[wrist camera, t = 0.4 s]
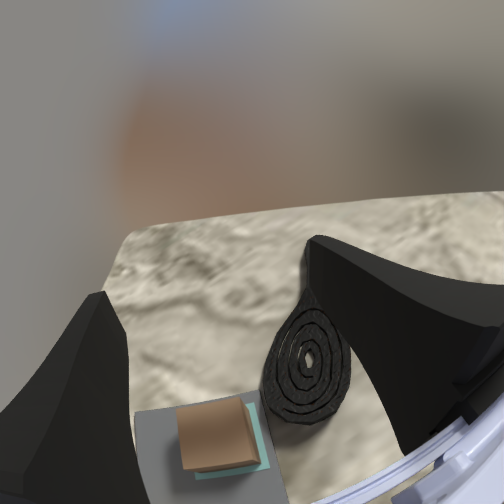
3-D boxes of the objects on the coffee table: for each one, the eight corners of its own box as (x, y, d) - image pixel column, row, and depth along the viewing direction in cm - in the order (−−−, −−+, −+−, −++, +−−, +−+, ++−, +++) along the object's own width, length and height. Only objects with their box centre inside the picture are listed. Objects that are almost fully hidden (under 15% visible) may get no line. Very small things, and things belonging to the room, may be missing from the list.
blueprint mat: (298, 535, 15) (298, 536, 14) (153, 546, 14) (150, 547, 14) (259, 391, 26) (258, 389, 25) (137, 413, 25) (134, 411, 25)
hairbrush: (349, 222, 37) (351, 422, 19) (349, 244, 39) (346, 432, 21) (286, 223, 39) (246, 414, 21) (289, 244, 41) (253, 425, 23)
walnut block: (261, 463, 20) (253, 459, 17) (201, 473, 20) (183, 469, 17) (248, 409, 24) (239, 396, 21) (192, 420, 24) (175, 408, 21)
